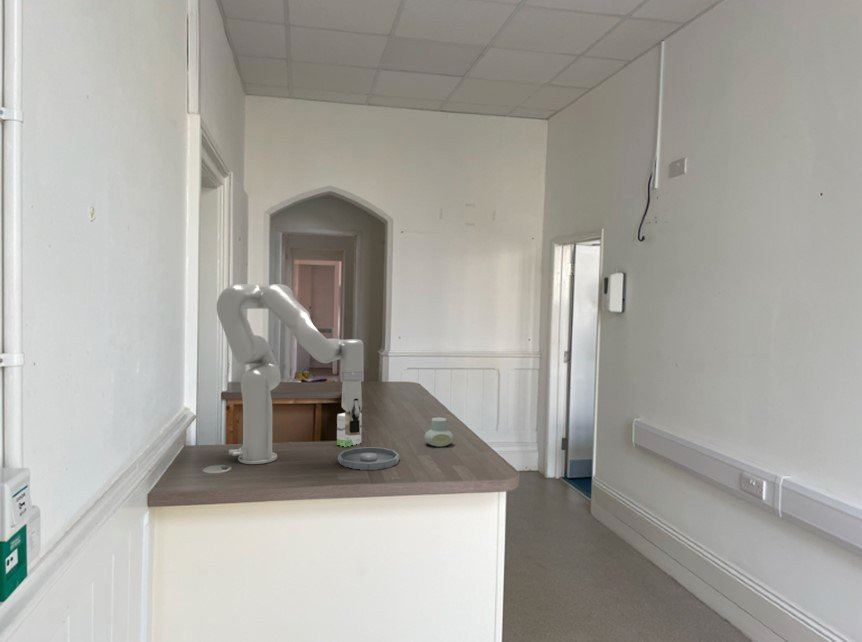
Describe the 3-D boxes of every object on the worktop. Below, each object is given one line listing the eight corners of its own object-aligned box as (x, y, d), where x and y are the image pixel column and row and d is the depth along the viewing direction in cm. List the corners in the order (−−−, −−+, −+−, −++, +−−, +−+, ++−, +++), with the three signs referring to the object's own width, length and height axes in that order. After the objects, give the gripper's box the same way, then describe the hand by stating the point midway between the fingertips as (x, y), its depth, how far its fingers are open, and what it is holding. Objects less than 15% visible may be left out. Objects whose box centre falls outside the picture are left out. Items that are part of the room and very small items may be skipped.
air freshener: (426, 448, 216) (427, 421, 216) (422, 442, 225) (422, 417, 224) (455, 447, 219) (455, 420, 218) (450, 441, 227) (450, 416, 226)
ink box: (345, 447, 215) (345, 416, 215) (336, 445, 218) (336, 414, 218) (361, 443, 222) (362, 412, 222) (352, 441, 225) (352, 411, 225)
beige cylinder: (346, 435, 192) (346, 414, 192) (343, 432, 197) (343, 412, 197) (361, 434, 194) (361, 413, 194) (358, 431, 199) (358, 411, 199)
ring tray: (346, 472, 185) (346, 465, 185) (333, 456, 204) (333, 450, 204) (406, 466, 193) (406, 460, 192) (388, 451, 211) (388, 445, 211)
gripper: (335, 373, 201) (336, 426, 202) (347, 380, 185) (347, 437, 186) (357, 372, 204) (357, 424, 205) (370, 379, 188) (370, 435, 189)
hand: (352, 430), depth 196 cm, fingers closed on beige cylinder, 4 cm apart
